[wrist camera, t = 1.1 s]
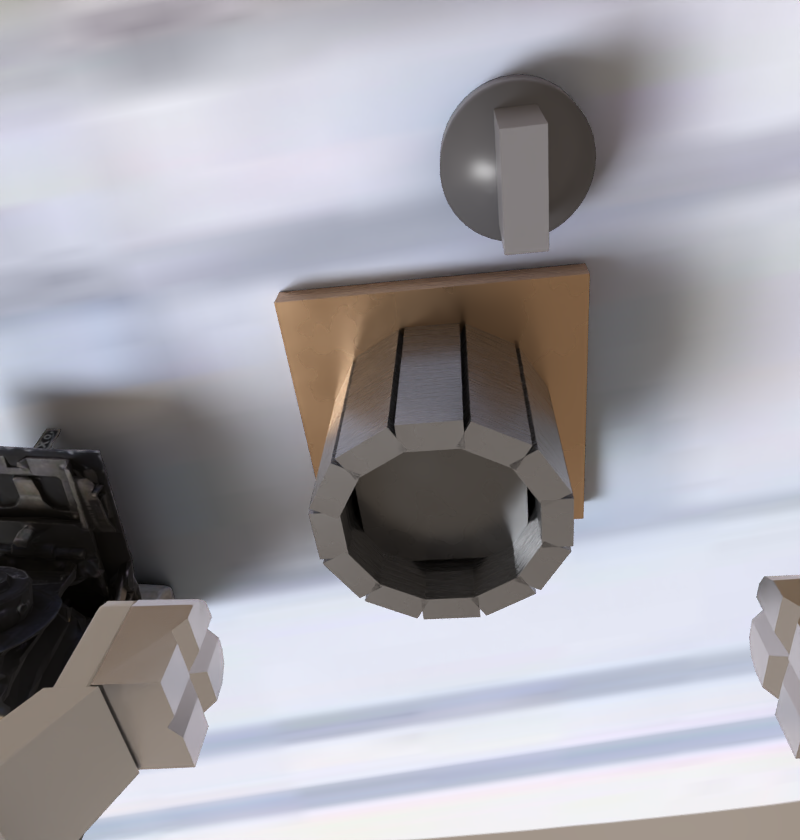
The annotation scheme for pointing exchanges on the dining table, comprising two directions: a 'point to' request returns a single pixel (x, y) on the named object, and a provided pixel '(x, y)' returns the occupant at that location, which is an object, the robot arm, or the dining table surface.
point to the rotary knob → (517, 161)
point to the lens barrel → (444, 432)
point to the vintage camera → (56, 561)
